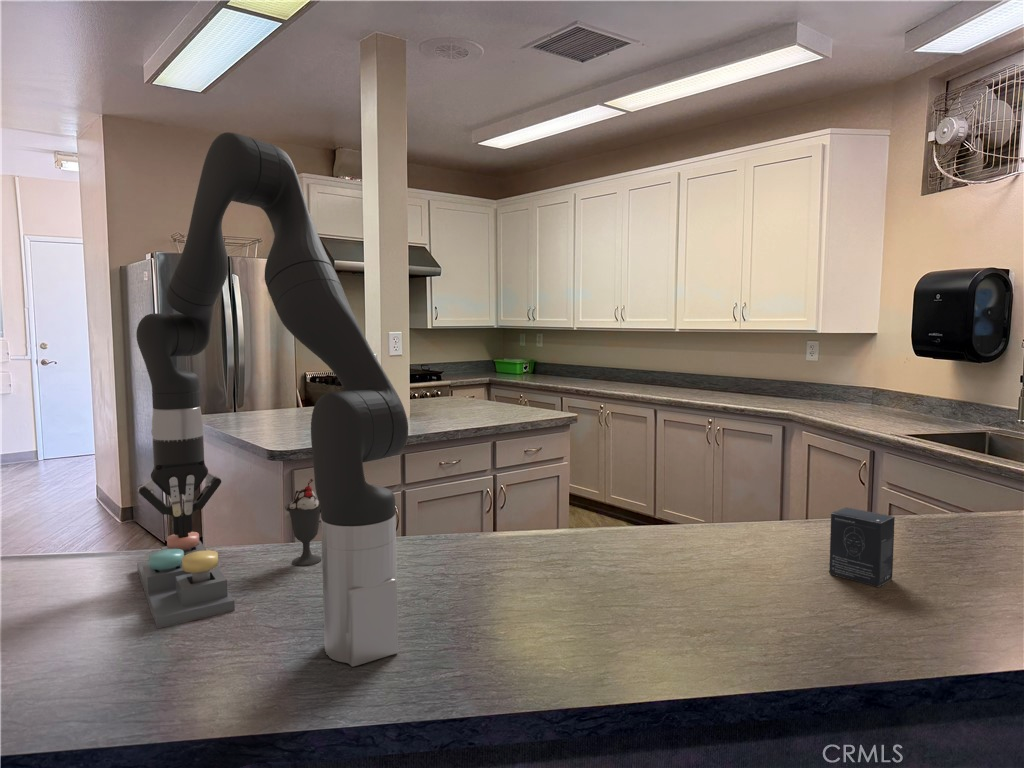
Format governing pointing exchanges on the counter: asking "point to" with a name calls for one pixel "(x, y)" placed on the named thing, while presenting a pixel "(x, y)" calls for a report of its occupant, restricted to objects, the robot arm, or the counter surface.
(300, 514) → the sundae
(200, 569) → the button ochre
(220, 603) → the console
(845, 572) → the box
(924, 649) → the counter surface
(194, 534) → the salmon orange dome button
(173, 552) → the button teal
